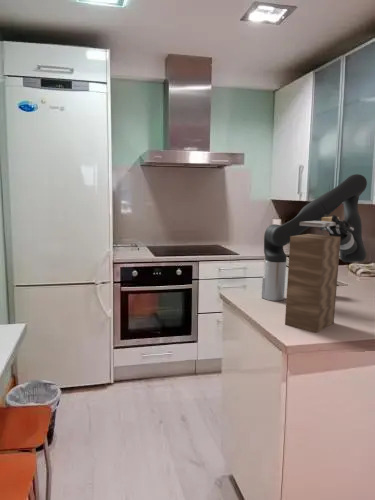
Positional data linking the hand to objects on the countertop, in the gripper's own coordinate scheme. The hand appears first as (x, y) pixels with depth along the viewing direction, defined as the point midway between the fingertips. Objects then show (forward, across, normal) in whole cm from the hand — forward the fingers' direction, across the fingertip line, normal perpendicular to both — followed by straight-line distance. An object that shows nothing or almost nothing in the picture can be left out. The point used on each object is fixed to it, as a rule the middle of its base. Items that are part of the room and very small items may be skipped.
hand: (329, 216), depth 147 cm
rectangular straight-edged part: (+2, 0, +4) cm, 4 cm away
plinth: (-10, 0, +39) cm, 40 cm away
